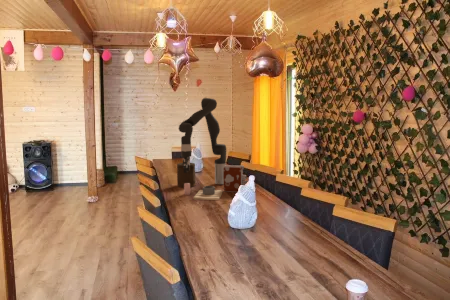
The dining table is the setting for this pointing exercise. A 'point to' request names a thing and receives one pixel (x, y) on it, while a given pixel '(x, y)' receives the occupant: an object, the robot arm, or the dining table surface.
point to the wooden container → (185, 175)
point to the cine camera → (233, 177)
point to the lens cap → (187, 189)
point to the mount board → (208, 197)
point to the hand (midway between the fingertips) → (186, 171)
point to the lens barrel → (208, 190)
